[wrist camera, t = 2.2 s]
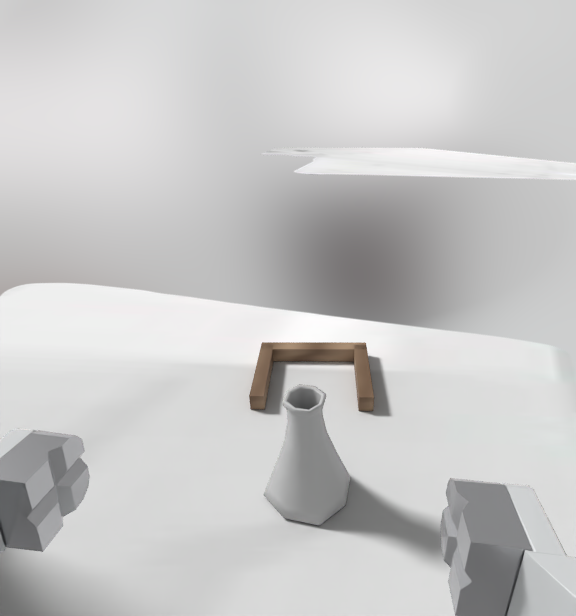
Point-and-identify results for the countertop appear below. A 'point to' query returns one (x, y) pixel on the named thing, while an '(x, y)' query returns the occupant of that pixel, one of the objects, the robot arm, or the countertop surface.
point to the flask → (307, 463)
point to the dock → (312, 353)
